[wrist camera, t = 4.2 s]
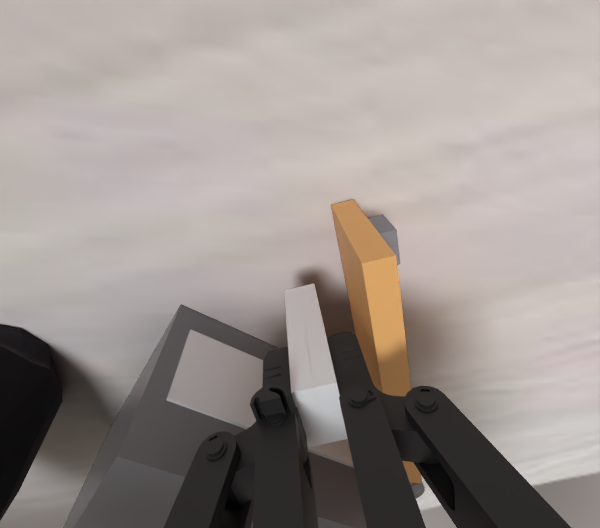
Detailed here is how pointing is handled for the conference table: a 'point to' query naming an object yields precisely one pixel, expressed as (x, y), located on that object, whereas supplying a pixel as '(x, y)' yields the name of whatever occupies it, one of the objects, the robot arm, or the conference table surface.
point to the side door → (376, 302)
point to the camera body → (194, 431)
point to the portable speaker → (23, 406)
